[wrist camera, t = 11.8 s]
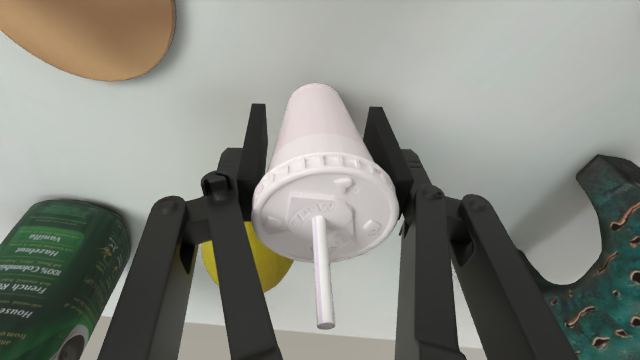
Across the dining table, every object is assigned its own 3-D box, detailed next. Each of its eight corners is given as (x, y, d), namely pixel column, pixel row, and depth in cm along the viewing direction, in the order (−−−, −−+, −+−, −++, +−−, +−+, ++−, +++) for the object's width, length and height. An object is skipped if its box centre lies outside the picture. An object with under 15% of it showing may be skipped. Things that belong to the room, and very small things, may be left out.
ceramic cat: (604, 135, 25) (1053, 469, 10) (662, 146, 26) (1137, 457, 11) (472, 263, 38) (585, 490, 23) (515, 266, 39) (648, 484, 24)
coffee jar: (22, 187, 24) (-320, 542, 11) (129, 203, 26) (-44, 518, 13) (52, 252, 30) (-142, 531, 17) (137, 261, 33) (25, 516, 19)
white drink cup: (328, 38, 17) (379, 249, 6) (379, 118, 20) (464, 332, 10) (245, 100, 19) (186, 330, 9) (305, 162, 23) (313, 373, 12)
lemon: (284, 243, 32) (283, 318, 26) (209, 234, 30) (189, 313, 24) (311, 169, 25) (317, 249, 19) (216, 152, 23) (190, 234, 17)
